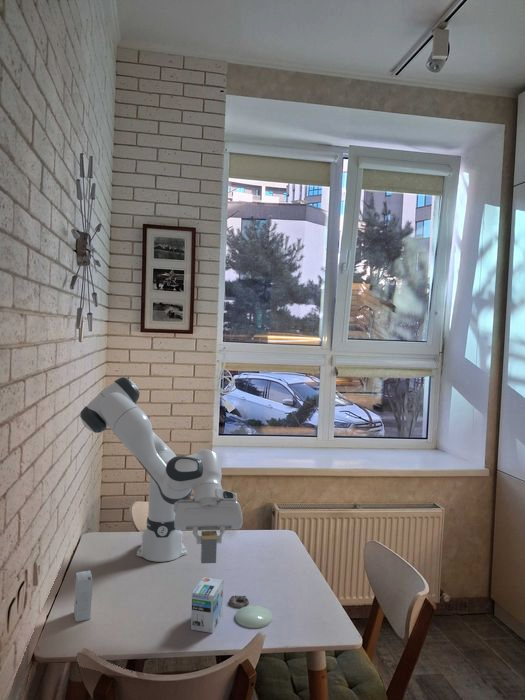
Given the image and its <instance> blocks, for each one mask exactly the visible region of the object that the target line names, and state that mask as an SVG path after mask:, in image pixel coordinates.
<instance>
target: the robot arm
mask: <svg viewBox="0 0 525 700" xmlns="http://www.w3.org/2000/svg"><path fill="white" fill-rule="evenodd" d="M139 399H140V391H139V388H138V386H137V385H136V383H135V382H134V381H132V380H131V379H129V378H127V377H123V376H122V377H119V378H117V379H116V380H114V382H113V383H112V384H110V385H108V386H107V387H104V389H102V390H101V391H100V392H99V394H97V395H96V396H95V397H94V398H93V399H92V400H91V401H90V402H89V403H88V404H87V406H84V407H83V409H82V410H81V411H80V414H79V415H80V416H79V417H80V419H81V422H82V425H83V426H84V427H85V428H86V429H87V430H88V431H90V432H93V433H95V434H96V433H97V434H98V433H99V434H101V433H102V432H105V430H107V428H108V427H109V429H110V430H111V432H112V434H114V436H115V437H116V438H117V440H119V441H120V443H122V444H123V446H124V447H125V448H126V449H127V450H128V451H129V452H130V453H131V454H132V455H133V456H134V457H135V458H136V460H137V461H138V462H139V463H140V465H141V467H142V468H143V469H144V470H145V471H146V473H148V475H149V478H150V479H149V493H148V510H147V511H148V516H147V517H146V529H145V530H144V532H142V534H141V538H142V539H141V540H142V541H141V546H140V547H139V548H138V550H137V551H136V555H135V556H137V557H141V558H143V559H146V560H147V561H151V562H156V563H157V562H159V563H160V562H161V563H163V562H170V561H174V560H176V559H178V558H180V557H181V556H185V555H187V554H188V550H187V548H186V546H185V545H184V543H183V542H184V540H183V532H182V531H192V534H193V537H194V538H195V539H196V545H201V544H202V535H199V534H198V531H217V530H219V535H217V544H222V538H223V536H224V534H225V533H226V531H225V530H239V529H241V528H242V526H243V523H244V522H243V521H244V520H243V519H244V518H243V513H242V507H241V504H240V503H239V502H238V494H237V493H236V492H232V491H230V490H229V491H228V490H226V489H223V486H222V482H221V481H222V478H223V477H222V476H223V474H222V465H221V460H220V457H219V456H218V454H217V453H216V452H214V450H211V449H206V448H205V449H200V450H198V451H197V452H194V453H193V454H190V455H185V456H184V455H176V453H175V452H174V451H173V450H172V448H170V447H169V446H168V445H167V444H166V442H164V440H162V439H161V438H160V437H159V436H158V435H157V434H156V433H155V431H154V430H153V425H152V422H151V420H150V419H149V417H148V415H147V414H146V413H145V411H143V410H142V409H141V408H140V406H138V405H137V402H138V401H139ZM192 492H193V498H191V496H192Z"/></svg>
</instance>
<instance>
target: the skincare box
mask: <svg viewBox="0 0 525 700" xmlns="http://www.w3.org/2000/svg"><path fill="white" fill-rule="evenodd" d="M93 582H94V580H93V575H92V572H91V570H84V571H78V572H76V573H75V585H74V586H75V588H74V604H73V606H74V608H73V617H74V621H75V622H82V621H89V620H91V618H92V617H91V615H92V614H91V613H92V600H93V599H92V598H93V597H92V596H93Z"/></svg>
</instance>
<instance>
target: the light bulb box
mask: <svg viewBox="0 0 525 700" xmlns="http://www.w3.org/2000/svg"><path fill="white" fill-rule="evenodd" d="M223 603H224V580H223V579H218V578H217V579H216V578H210V577H205V576H204V577H202V578H201V580H200V581H199V582H198V584H197V585H196V587H195V588H194V590H192V592H191V618H190V619H191V620H190V621H191V623H190V630H191V631H197V632H204V633H209V634H212V633H214V631H215V629H216V627H218V624H219V622H220V620H221V618H222V617H223V608H224V607H223V605H224V604H223Z"/></svg>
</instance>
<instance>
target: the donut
mask: <svg viewBox="0 0 525 700" xmlns="http://www.w3.org/2000/svg"><path fill="white" fill-rule="evenodd" d="M228 603H229V605H230V606H231V607H233V608H238V609H240V608H243V607H246V606H249V604H250V602H249V599H248V597H247V596H246V595H232V596H231V597H230V598H229V602H228Z"/></svg>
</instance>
